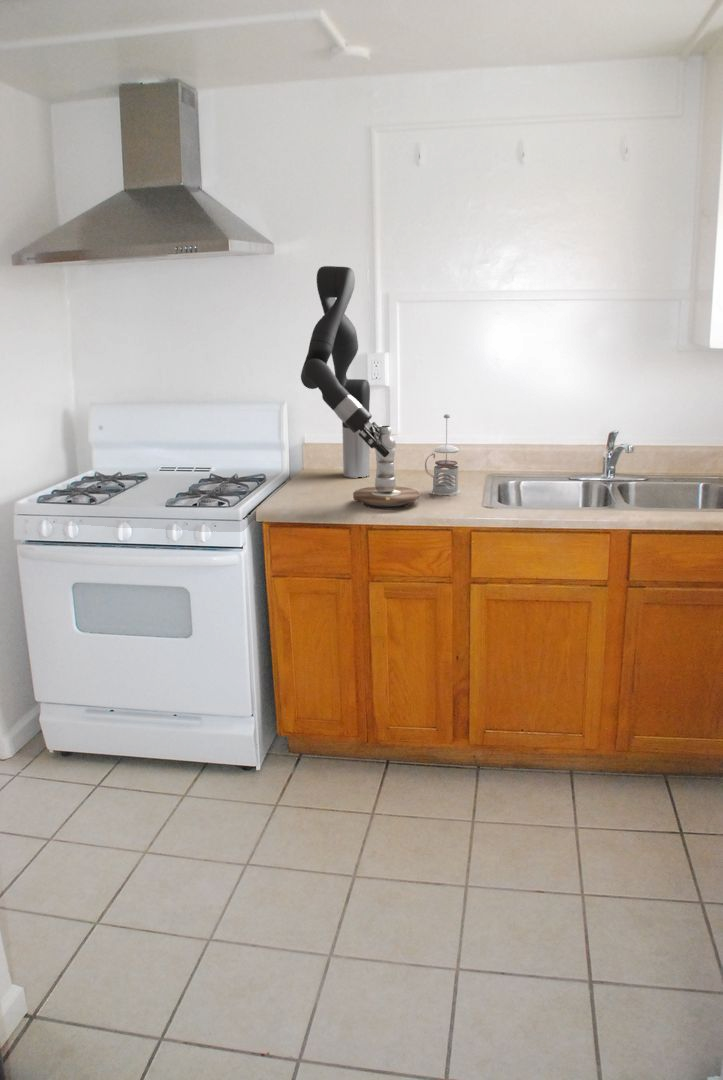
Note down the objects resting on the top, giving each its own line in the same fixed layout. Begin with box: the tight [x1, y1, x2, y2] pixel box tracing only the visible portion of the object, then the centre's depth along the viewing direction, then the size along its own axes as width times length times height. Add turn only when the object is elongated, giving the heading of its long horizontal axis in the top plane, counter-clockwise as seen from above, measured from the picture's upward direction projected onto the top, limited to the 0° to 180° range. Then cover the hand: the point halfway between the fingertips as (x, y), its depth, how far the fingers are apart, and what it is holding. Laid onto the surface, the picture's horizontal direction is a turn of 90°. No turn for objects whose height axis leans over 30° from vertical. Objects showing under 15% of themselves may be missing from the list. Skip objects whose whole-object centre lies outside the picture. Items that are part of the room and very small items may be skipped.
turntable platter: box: [352, 485, 420, 505], centre depth 269 cm, size 20×20×1 cm
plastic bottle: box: [374, 425, 397, 493], centre depth 266 cm, size 6×7×20 cm
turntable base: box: [362, 503, 410, 510], centre depth 269 cm, size 14×14×2 cm
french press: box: [424, 413, 461, 496], centre depth 280 cm, size 10×12×25 cm
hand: (390, 452), depth 265 cm, fingers open, 8 cm apart
